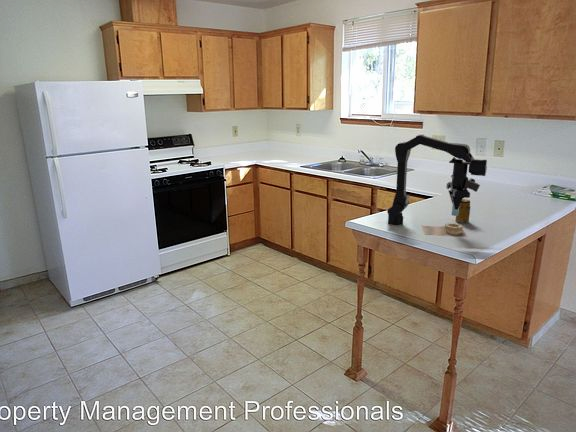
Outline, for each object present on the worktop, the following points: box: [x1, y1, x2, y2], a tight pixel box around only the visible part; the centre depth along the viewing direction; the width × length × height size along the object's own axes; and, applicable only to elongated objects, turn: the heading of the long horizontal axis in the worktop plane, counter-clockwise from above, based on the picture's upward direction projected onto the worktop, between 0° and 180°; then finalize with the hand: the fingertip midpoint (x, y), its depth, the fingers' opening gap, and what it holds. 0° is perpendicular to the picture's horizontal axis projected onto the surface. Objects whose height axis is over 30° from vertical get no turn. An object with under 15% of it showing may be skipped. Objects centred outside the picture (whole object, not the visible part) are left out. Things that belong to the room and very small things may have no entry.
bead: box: [444, 222, 464, 234], centre depth 193 cm, size 7×7×3 cm
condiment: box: [455, 198, 471, 225], centre depth 206 cm, size 7×8×12 cm
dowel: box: [451, 204, 459, 217], centre depth 190 cm, size 3×3×10 cm
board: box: [421, 225, 468, 238], centre depth 195 cm, size 18×13×1 cm
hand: (455, 208), depth 190 cm, fingers closed on dowel, 3 cm apart
